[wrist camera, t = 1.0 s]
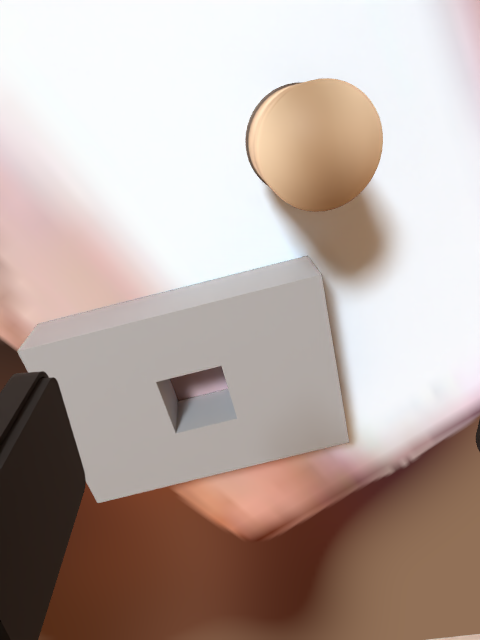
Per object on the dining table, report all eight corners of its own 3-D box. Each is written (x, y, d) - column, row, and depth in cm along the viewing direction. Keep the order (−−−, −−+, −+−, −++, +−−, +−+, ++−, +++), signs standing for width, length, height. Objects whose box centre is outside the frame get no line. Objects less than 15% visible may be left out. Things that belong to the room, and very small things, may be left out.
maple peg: (324, 74, 27) (378, 59, 19) (337, 172, 29) (390, 196, 21) (231, 99, 27) (244, 95, 19) (252, 194, 30) (272, 226, 21)
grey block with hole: (307, 255, 32) (321, 274, 28) (334, 410, 38) (349, 442, 34) (37, 324, 32) (17, 351, 29) (107, 466, 38) (97, 503, 35)
